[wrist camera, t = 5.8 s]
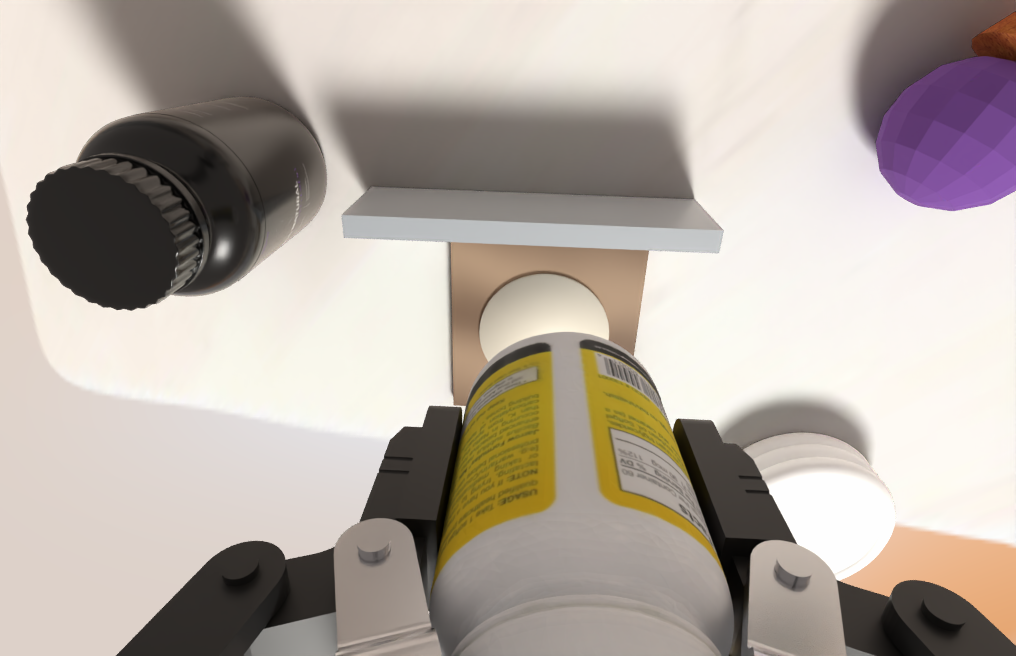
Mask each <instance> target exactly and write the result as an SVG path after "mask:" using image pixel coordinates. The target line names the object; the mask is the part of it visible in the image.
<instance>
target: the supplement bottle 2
mask: <svg viewBox="0 0 1016 656" xmlns="http://www.w3.org/2000/svg"><path fill="white" fill-rule="evenodd" d="M429 618H430V622H431V626H432V628H435V629H436V632H437V636H438V640H439V644H440V649H441V654H442V656H729V652H730V649H731V645H732V640H733V633H734V612H733V605H732V600H731V595H730V591H729V587H728V584H727V580H726V577H725V575H724V572H723V569H722V566H721V563H720V560H719V558H718V555H717V552H716V550H715V548H714V545H713V542H712V539H711V536H710V534H709V531H708V528H707V525H706V523H705V520H704V517H703V514H702V511H701V509H700V506H699V503H698V501H697V498H696V495H695V492H694V489H693V486H692V484H691V481H690V478H689V475H688V472H687V470H686V467H685V464H684V462H683V459H682V456H681V454H680V451H679V448H678V445H677V443H676V440H675V437H674V435H673V432H672V429H671V427H670V424H669V421H668V418H667V416H666V413H665V410H664V408H663V405H662V402H661V398H660V396H659V393H658V391H657V388H656V386H655V384H654V382H653V380H652V378H651V377H650V375H649V373H648V372H647V371H646V369H645V368H644V367H643V365H642V364H641V363H640V362H639V361H638V360H637V359H636V358H635V357H634V356H633V355H631V354H630V353H629V352H628V351H626V350H625V349H623V348H622V347H620V346H619V345H617V344H615V343H613V342H611V341H609V340H606V339H604V338H601V337H598V336H594V335H591V334H585V333H578V332H555V333H547V334H541V335H537V336H533V337H529V338H526V339H523V340H521V341H518V342H516V343H514V344H512V345H510V346H508V347H507V348H505V349H503V350H502V351H500V352H499V353H498V354H497V355H495V356H494V357H493V358H492V359H491V360H490V361H489V362H488V363H487V364H486V365H485V366H484V368H483V369H482V370H481V372H480V373H479V375H478V376H477V378H476V380H475V381H474V384H473V386H472V388H471V391H470V394H469V397H468V400H467V404H466V409H465V414H464V420H463V425H462V429H461V435H460V440H459V446H458V451H457V456H456V462H455V467H454V472H453V478H452V483H451V489H450V494H449V499H448V504H447V510H446V515H445V521H444V527H443V532H442V537H441V542H440V548H439V553H438V557H437V562H436V568H435V574H434V579H433V584H432V588H431V594H430V607H429Z"/></svg>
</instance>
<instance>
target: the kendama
mask: <svg viewBox="0 0 1016 656" xmlns="http://www.w3.org/2000/svg"><path fill="white" fill-rule="evenodd" d="M972 49H973V50H974V51H975V53H976V54H977V56H978V57H972V58H968V59H964V60H960V61H956V62H953V63H949V64H945V65H941V66H940V67H938V68H937V69H935V70H934V71H932V72H930V73H929V74H927V75H926V76H924V77H923V78H921V79H920V80H918V81H917V82H915V83H914V84H912V85H911V86H909V87H908V88H906V89H905V90H904V91H903V92H902V93H901V94H900V96H899V97H898V98H897V100H896V101H895V102H894V103H893V105H892V106H891V107H890V108H889V110H888V111H887V112H886V113H885V115H884V117H883V120H882V123H881V127H880V130H879V133H878V137H877V140H876V149H877V156H878V162H879V169H880V172H881V174H882V175H883V176H884V178H885V179H886V180H887V182H888V183H889V184H890V186H891V187H892V188H893V189H894V191H895V192H896V193H897V194H898V195H899V196H901V197H902V198H904V199H905V200H907V201H909V202H911V203H913V204H915V205H918V206H922V207H928V208H935V209H941V210H948V211H956V210H962V209H967V208H972V207H978V206H983V205H989V204H992V203H994V202H996V201H998V200H999V199H1001V198H1003V197H1005V196H1007V195H1009V194H1011V193H1012V192H1014V191H1016V11H1015V12H1014V13H1012V14H1011V15H1009V16H1007V17H1006V18H1004V19H1003V20H1001V21H999V22H998V23H996V24H994V25H993V26H991V27H990V28H988V29H986V30H985V31H983V32H982V33H980V34H979V35H977V36H976V37H974V38H973V39H972Z"/></svg>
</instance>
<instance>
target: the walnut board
mask: <svg viewBox="0 0 1016 656" xmlns="http://www.w3.org/2000/svg"><path fill="white" fill-rule="evenodd" d="M648 253H649V250H627V249H603V248H579V247H555V246H531V245H507V244H483V243H459V242H451V286H452V342H453V398H454V405H460V406H466V404H467V400H468V397H469V394H470V391H471V388H472V386H473V384H474V381H475V380H476V378H477V376H478V375H479V373H480V372H481V370H482V369H483V368H484V366H485V365H486V364H487V363H488V362H489V361H490V360H491V359H492V358H493V357H494V356H495V355H497V354H498V353H499V352H500V351H502V350H503V349H505V348H507V347H508V346H510V345H512V344H514V343H516V342H518V341H521V340H523V339H526V338H529V337H533V336H537V335H541V334H547V333H555V332H578V333H585V334H591V335H594V336H598V337H601V338H604V339H606V340H609V341H611V342H613V343H615V344H617V345H619V346H620V347H622V348H623V349H625V350H626V351H628V352H629V353H630V354H631V355H633V356H634V349H635V342H636V336H637V329H638V322H639V315H640V308H641V301H642V294H643V287H644V281H645V274H646V267H647V260H648Z"/></svg>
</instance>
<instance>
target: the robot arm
mask: <svg viewBox="0 0 1016 656" xmlns="http://www.w3.org/2000/svg"><path fill="white" fill-rule="evenodd" d="M461 429H462V408H461V407H445V406H429V408H428V411H427V414H426V417H425V420H424V424H423V427H404V428H402V429H401V430H400V431H399V432H398V433H397V434H396V435H395V436H394V437H393V438H392V439H391V440H390V442H389V444H388V447H387V450H386V453H385V455H384V459H383V461H382V463H381V466H380V469H379V473H378V474H377V477H376V479H375V482H374V485H373V488H372V490H371V493H370V495H369V498H368V501H367V503H366V506H365V509H364V512H363V514H362V517H361V519H360V522H359V523H357V524H355V525H353V526H352V527H350V528H349V529H347V530H346V531H345V532H344V533H343V534H342V535H341V536H340V538H339V539H338V541H337V543H336V545H335V547H333V548H331V549H329V550H326V551H323V552H320V553H316V554H312V555H307V556H302V557H297V558H292V559H288V560H285V556H284V554H283V552H282V551H281V550H280V549H279V548H278V547H277V546H275V545H274V544H271V543H268V542H264V541H249V542H243V543H240V544H236V545H233V546H231V547H229V548H226V549H225V550H223V551H221V552H220V553H218V554H217V555H215V556H214V557H212V558H211V559H210V560H209V561H208V562H207V563H206V564H205V565H204V566H203V567H202V568H201V569H200V570H199V571H198V572H197V573H196V575H194V576H193V577H192V578H191V579H190V580H189V581H188V582H187V583H186V584H185V586H184V587H183V588H182V589H181V590H180V591H179V592H178V593H177V594H176V595H175V596H174V597H173V598H172V599H171V600H170V601H169V602H168V603H167V604H166V605H165V606H164V607H163V608H162V609H161V610H160V611H159V612H158V613H157V614H156V615H155V616H154V617H153V618H152V619H151V621H149V622H148V624H146V625H145V627H144V628H143V629H142V630H141V631H140V632H139V633H138V634H137V635H136V636H135V637H134V638H133V639H132V640H131V641H130V642H129V643H128V644H127V645H126V646H125V647H124V648H123V649H122V650H121V651H120V652H119V653H118V654H117V655H116V656H442V654H441V649H440V644H439V640H438V636H437V632H436V629H435V628H432V626H431V622H430V618H429V613H428V611H429V607H430V594H431V588H432V584H433V579H434V574H435V568H436V562H437V557H438V553H439V548H440V542H441V537H442V532H443V527H444V521H445V515H446V510H447V504H448V499H449V494H450V489H451V483H452V478H453V472H454V467H455V462H456V456H457V451H458V446H459V440H460V435H461ZM673 435H674V437H675V440H676V443H677V445H678V448H679V451H680V454H681V456H682V459H683V462H684V464H685V467H686V470H687V472H688V475H689V478H690V481H691V484H692V486H693V489H694V492H695V495H696V498H697V501H698V503H699V506H700V509H701V511H702V514H703V517H704V520H705V523H706V525H707V528H708V531H709V534H710V536H711V539H712V542H713V545H714V548H715V550H716V552H717V555H718V558H719V560H720V563H721V566H722V569H723V572H724V575H725V577H726V580H727V584H728V587H729V591H730V595H731V600H732V605H733V612H734V633H733V640H732V645H731V649H730V652H729V656H1016V646H1015V645H1014V644H1013V643H1012V642H1011V641H1010V640H1009V639H1008V638H1007V637H1006V636H1005V635H1004V634H1003V633H1002V632H1001V631H999V630H998V629H997V628H996V627H995V626H994V625H993V624H992V623H991V622H990V621H989V620H988V619H987V618H986V617H985V616H984V615H982V614H981V613H980V612H979V611H978V610H977V609H976V608H975V607H974V606H973V605H971V604H970V603H969V602H968V601H966V600H965V599H963V598H962V597H960V596H959V595H957V594H955V593H954V592H952V591H950V590H948V589H946V588H944V587H941V586H939V585H935V584H933V583H929V582H925V581H917V580H910V581H904V582H901V583H899V584H897V585H896V586H895V587H894V589H893V591H892V593H891V595H890V597H887V596H884V595H881V594H877V593H874V592H871V591H867V590H864V589H860V588H858V587H854V586H851V585H848V584H845V583H843V582H840V581H838V580H836V577H835V575H834V573H833V571H832V570H831V569H830V567H829V566H828V565H827V564H826V563H825V561H823V560H822V559H821V558H820V557H819V556H817V555H816V554H815V553H813V552H812V551H810V550H808V549H806V548H804V547H802V546H800V545H798V544H797V542H796V540H795V538H794V537H793V535H792V533H791V531H790V529H789V527H788V525H787V523H786V521H785V519H784V517H783V515H782V514H781V512H780V510H779V508H778V506H777V504H776V502H775V500H774V498H773V496H772V495H770V491H769V489H768V487H767V485H766V483H765V481H764V480H762V475H761V473H760V471H759V469H758V468H757V466H756V464H755V462H754V460H753V459H752V458H751V457H750V456H749V455H748V454H747V453H745V452H744V451H743V450H742V449H741V448H740V447H739V446H738V445H737V444H726V443H723V442H722V440H721V438H720V435H719V433H718V431H717V429H716V427H715V425H714V423H713V422H712V421H711V420H695V419H677V420H676V422H675V424H674V428H673Z"/></svg>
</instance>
